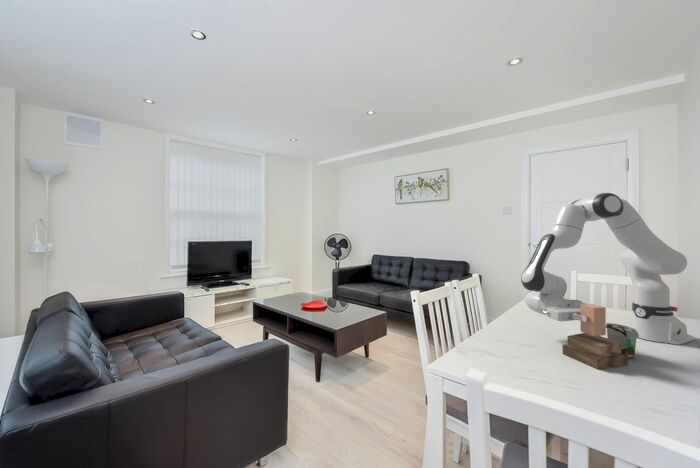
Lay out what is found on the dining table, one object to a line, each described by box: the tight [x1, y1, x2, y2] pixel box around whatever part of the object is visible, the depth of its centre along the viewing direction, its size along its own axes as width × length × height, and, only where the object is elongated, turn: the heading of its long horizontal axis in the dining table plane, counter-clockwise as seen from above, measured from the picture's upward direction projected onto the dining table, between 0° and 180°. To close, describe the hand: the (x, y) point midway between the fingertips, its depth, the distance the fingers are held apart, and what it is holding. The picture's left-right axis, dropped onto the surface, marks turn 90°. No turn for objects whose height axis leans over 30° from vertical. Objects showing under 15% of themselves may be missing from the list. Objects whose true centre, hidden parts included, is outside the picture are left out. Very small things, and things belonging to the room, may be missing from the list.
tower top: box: [567, 332, 621, 358], centre depth 107 cm, size 11×11×4 cm
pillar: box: [580, 303, 607, 337], centre depth 107 cm, size 5×5×10 cm
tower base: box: [562, 343, 629, 370], centre depth 107 cm, size 13×13×4 cm
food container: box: [606, 322, 640, 360], centre depth 111 cm, size 12×6×10 cm, turn 168°
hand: (595, 318), depth 106 cm, fingers closed on pillar, 5 cm apart
